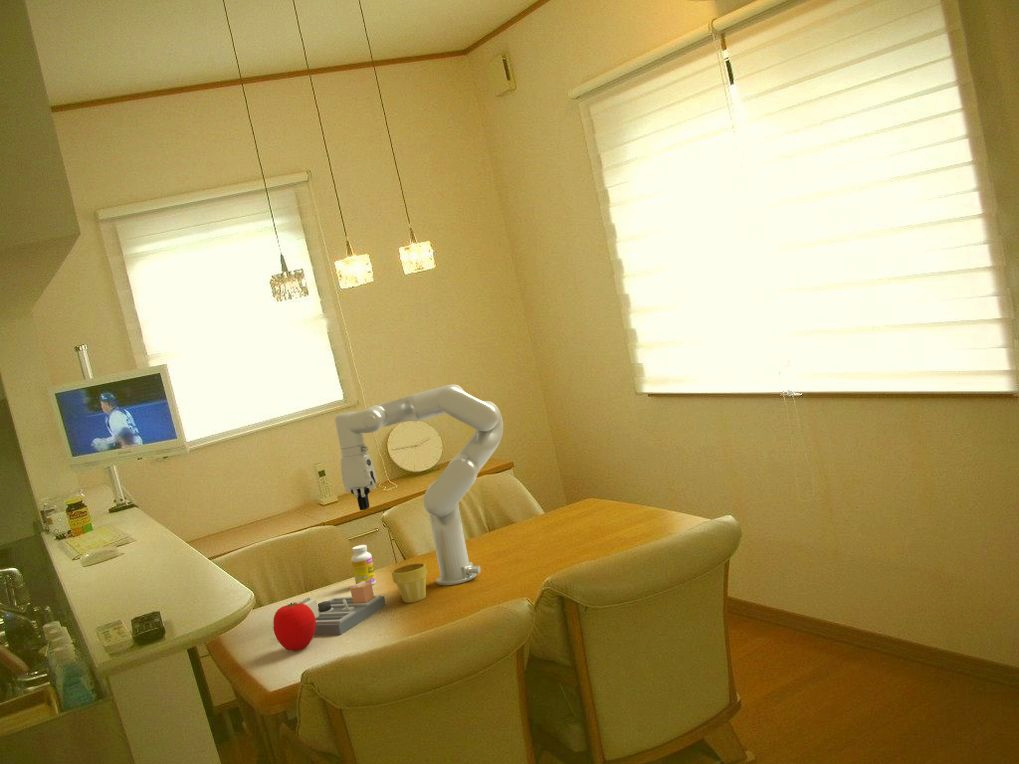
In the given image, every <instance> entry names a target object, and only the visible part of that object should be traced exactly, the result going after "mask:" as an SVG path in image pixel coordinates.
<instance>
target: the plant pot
mask: <svg viewBox="0 0 1019 764" xmlns="http://www.w3.org/2000/svg"><path fill="white" fill-rule="evenodd" d="M391 575H392V580H393V583H394V584H396V587H397V588H398V591H399V593H400V595H401V598H402V600H403V602H404V603H416V602H419V601H423V600H424V599H425V598H426V597H427V595H426V594H427V593H426V591H427V590H426V589H427V588H426V587H427V586H426V584H427V583H426V578H427V575H428V570H427V565H426V563H424V562H414V563H408V564H405V565H401V566H399V567H396V568H394V569H393V570H391Z"/></svg>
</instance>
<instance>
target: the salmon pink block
mask: <svg viewBox="0 0 1019 764" xmlns="http://www.w3.org/2000/svg"><path fill="white" fill-rule="evenodd" d="M350 593H351V597H352V599H353V604H354V603H367V602H369V601H370V600H372V599H373V598H374V596H375V595H374V589H373V585H372V584H371V582H368V583H365V581H362V582H360V583H358V584H356V583H355V585H353V586H351V587H350Z"/></svg>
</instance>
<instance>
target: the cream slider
mask: <svg viewBox="0 0 1019 764" xmlns="http://www.w3.org/2000/svg"><path fill="white" fill-rule="evenodd" d="M298 603H303V604H305V605H307V606H308V607H309V608H310V609H311V610H312V612H313V613H314V616H315V618H317V617H319V612H318V602H317V599H315V598H313V599H311V597H307V598H305V599H302V600H301V601H298Z"/></svg>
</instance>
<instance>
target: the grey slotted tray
mask: <svg viewBox="0 0 1019 764" xmlns="http://www.w3.org/2000/svg"><path fill="white" fill-rule="evenodd" d="M327 601H330V604H331V609H330V610H328V611H324V612H319V608H318V612H319V617H317V618H315V619H316V629H315V633H314V636H313V637H315V636H316V637H317V636H341V635H343V634H344V633H346V632H347V631H349V630H351V629H352V628H353V627H356V626H357V625H359V624H360V623H361V622H364V621H365V620H366V619H368V618H370V617H371V616H373V615H374V614H376V613H378V612H379V611H380V610H381V609H383V608H385V607H386V606H387V602H386V599H385V596H384V595H378V594H377V595H374V598H373V599H372V600H370V601H369V602H367V603H354V604H353V599H352V596H338V597H332V598H330V599H328V600H327Z"/></svg>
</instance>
